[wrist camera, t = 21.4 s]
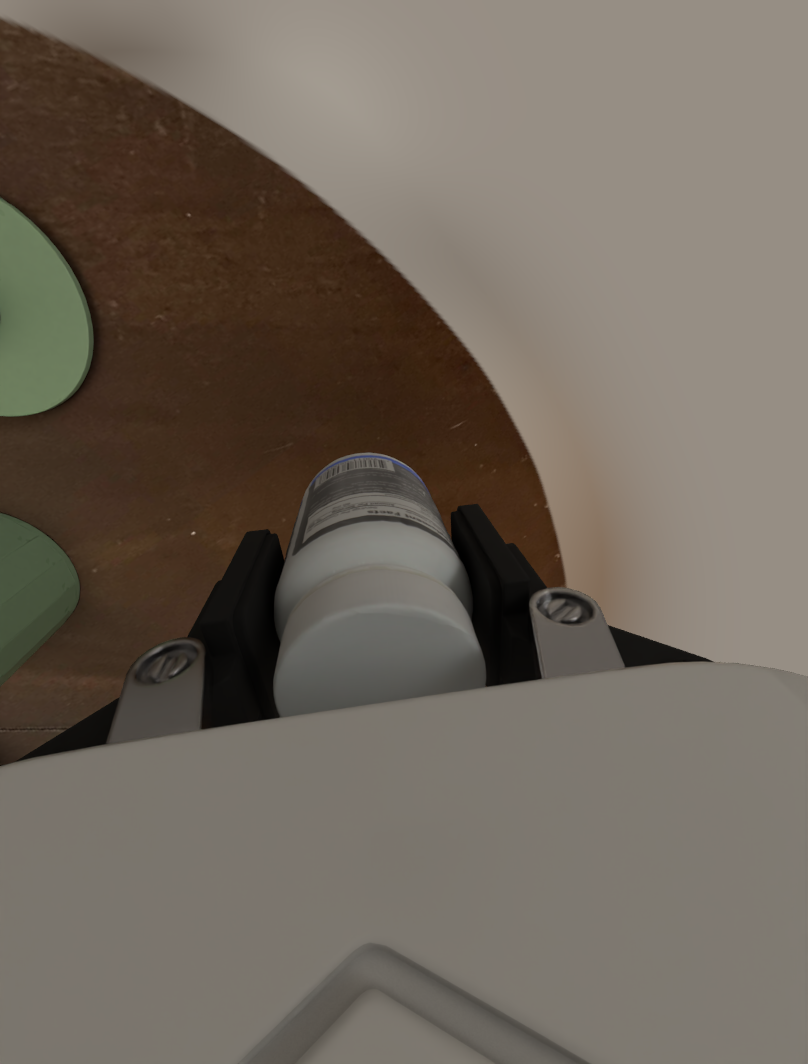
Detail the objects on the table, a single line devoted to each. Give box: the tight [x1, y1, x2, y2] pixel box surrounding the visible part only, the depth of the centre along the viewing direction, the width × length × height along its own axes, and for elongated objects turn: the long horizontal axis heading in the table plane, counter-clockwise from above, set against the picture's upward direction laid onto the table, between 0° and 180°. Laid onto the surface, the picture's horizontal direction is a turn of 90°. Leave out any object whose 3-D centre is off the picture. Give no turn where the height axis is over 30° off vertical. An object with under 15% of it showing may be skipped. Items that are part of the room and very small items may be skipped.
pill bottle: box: [273, 453, 486, 718], centre depth 11 cm, size 5×5×8 cm
